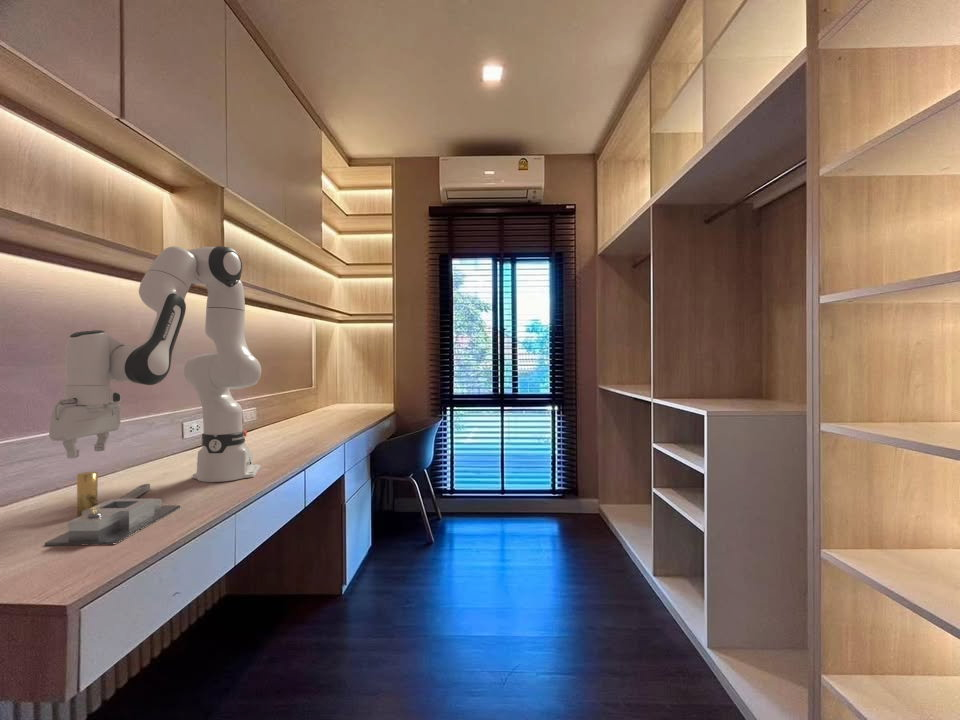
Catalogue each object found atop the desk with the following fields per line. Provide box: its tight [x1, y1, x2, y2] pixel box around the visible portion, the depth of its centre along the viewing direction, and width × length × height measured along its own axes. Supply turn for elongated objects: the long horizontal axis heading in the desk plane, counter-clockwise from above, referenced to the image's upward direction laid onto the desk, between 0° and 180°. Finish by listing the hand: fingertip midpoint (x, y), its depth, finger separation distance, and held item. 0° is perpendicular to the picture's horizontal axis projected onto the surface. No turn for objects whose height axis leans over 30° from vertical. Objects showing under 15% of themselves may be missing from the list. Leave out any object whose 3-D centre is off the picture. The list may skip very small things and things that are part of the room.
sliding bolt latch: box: [44, 497, 181, 547], centre depth 123 cm, size 26×14×5 cm, turn 3°
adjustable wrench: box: [118, 483, 151, 499], centre depth 142 cm, size 25×6×2 cm, turn 11°
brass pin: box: [76, 471, 99, 517], centre depth 130 cm, size 4×4×10 cm
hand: (86, 454), depth 129 cm, fingers open, 8 cm apart
